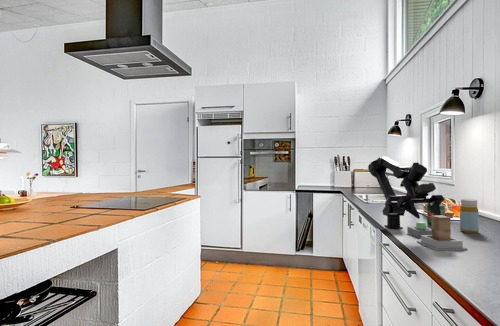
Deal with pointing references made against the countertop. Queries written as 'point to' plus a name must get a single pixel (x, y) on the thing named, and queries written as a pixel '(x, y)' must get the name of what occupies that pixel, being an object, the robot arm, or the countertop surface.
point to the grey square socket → (441, 243)
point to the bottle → (469, 216)
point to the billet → (441, 228)
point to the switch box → (418, 231)
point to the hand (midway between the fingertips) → (429, 217)
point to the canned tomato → (431, 213)
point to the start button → (421, 225)
